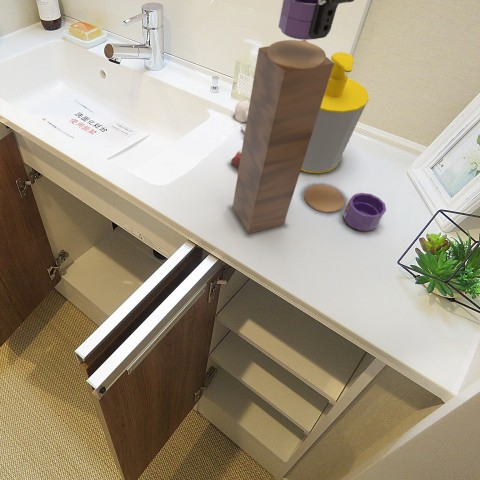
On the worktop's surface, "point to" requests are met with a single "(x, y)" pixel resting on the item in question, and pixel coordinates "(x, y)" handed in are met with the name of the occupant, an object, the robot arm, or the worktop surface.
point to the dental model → (236, 159)
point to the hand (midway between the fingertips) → (303, 25)
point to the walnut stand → (276, 139)
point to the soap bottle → (335, 117)
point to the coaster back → (324, 198)
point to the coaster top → (296, 54)
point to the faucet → (242, 111)
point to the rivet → (243, 128)
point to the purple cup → (364, 211)
